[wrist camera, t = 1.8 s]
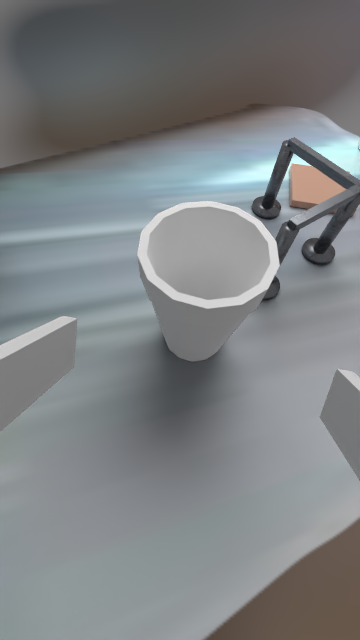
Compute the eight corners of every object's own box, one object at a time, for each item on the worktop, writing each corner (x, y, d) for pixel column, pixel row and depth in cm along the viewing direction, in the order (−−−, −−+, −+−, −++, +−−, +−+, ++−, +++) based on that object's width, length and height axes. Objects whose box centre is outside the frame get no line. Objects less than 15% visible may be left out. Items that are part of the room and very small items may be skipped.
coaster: (289, 205, 40) (292, 200, 40) (289, 169, 45) (291, 163, 44) (352, 215, 40) (356, 209, 39) (345, 177, 44) (349, 171, 43)
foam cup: (155, 294, 32) (148, 196, 21) (234, 300, 32) (271, 205, 21) (144, 373, 27) (128, 302, 16) (237, 380, 27) (286, 314, 16)
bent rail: (243, 296, 32) (270, 234, 24) (252, 198, 41) (274, 126, 33) (339, 313, 32) (400, 255, 23) (327, 209, 40) (369, 140, 32)
